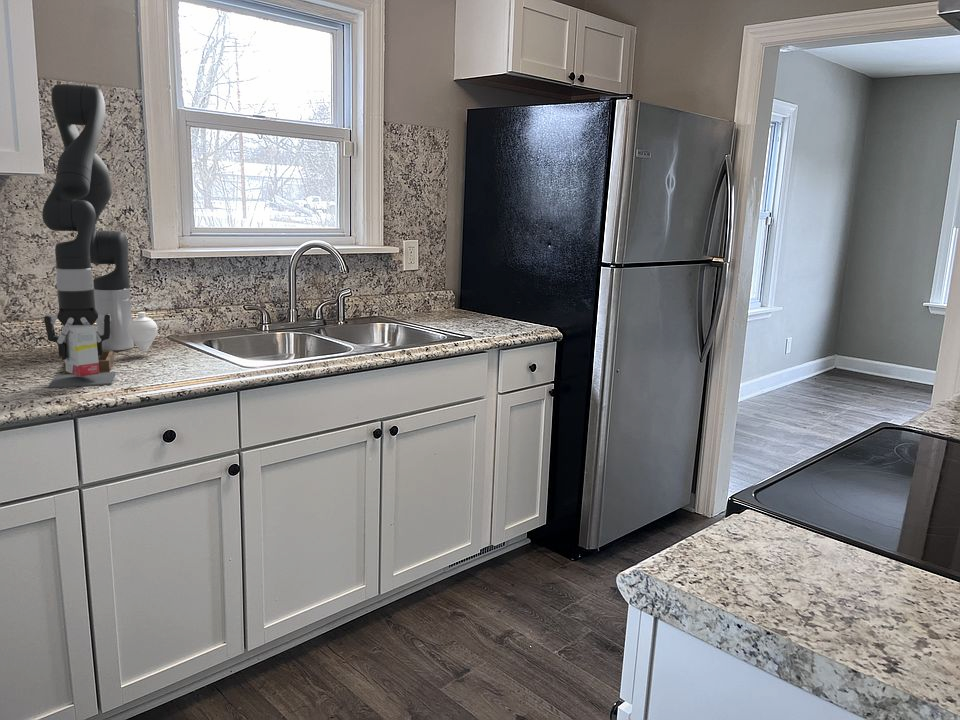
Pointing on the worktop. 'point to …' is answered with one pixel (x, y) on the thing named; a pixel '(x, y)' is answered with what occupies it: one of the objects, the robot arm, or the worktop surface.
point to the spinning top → (142, 331)
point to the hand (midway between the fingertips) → (81, 357)
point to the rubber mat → (82, 380)
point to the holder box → (101, 362)
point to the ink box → (82, 350)
